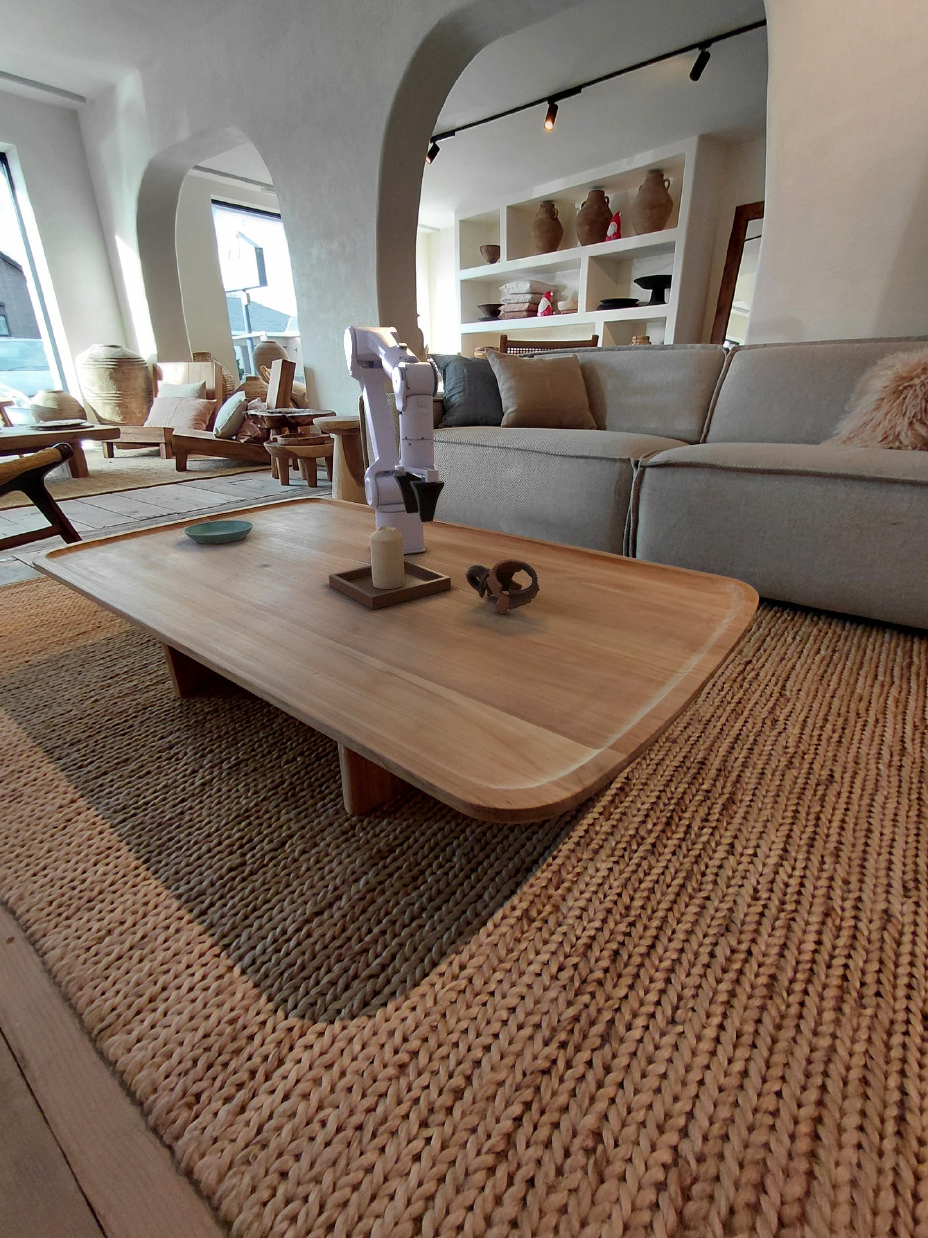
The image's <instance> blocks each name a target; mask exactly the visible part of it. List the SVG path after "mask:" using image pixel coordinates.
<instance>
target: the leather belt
mask: <svg viewBox="0 0 928 1238" xmlns="http://www.w3.org/2000/svg"><path fill="white" fill-rule="evenodd" d="M522 571H524V572H526V573H527V575H528V577H530V578H531V584H530V585H529V586H528V587H526V588H524V589H522V588H523V585H522V583H519V582H517V581H515V580H514V579H513V577H514V576H515V574H516V573H520V572H522ZM465 578H466V581H467V583H468V585H470V587H471V588H472V589H474V590H475V591H476V592H477V593H478V595H479V597H480V598H483V597H484V596H485V595H486V596H487V597H488V598H490V597H491V596H492V595H494V596H495V597H496V598H497V601H496V604H495V606H494V611H495V612H497V613H499V614H500V615H504V614H505V613H506V612H508V610H514V609H517V608H520V607H523V606H526V605H528V604H530V603H531V602H532V600H535V598H536V597H537V595H538V593H539V592H540V585H539V581H538V580H539V579H538V575H537V572H536V570H535V569H534V568H533V566H531V565H530V564H528V563H527V562H524V561H521V560H518V559H512V558H510V559H508V558H507V559H503V560H499V561H498V562H496V563H495V564H494V565H493V566H492V567H491V568H488V567H485V566H483V565H480V564H474V565H471V566H469V567H468V569H467V571H466V573H465ZM504 592H508V594H507V593H504Z"/></svg>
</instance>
